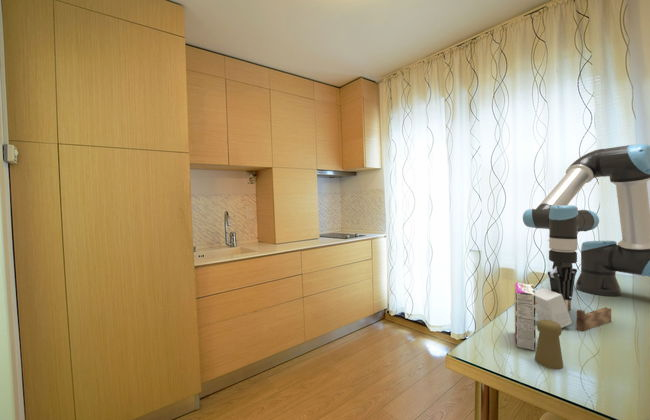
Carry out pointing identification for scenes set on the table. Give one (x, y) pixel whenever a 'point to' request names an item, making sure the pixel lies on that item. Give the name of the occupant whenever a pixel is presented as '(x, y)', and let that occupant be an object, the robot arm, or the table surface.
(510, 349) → the table surface
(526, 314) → the candy bar box
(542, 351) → the cork
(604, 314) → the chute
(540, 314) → the small box
